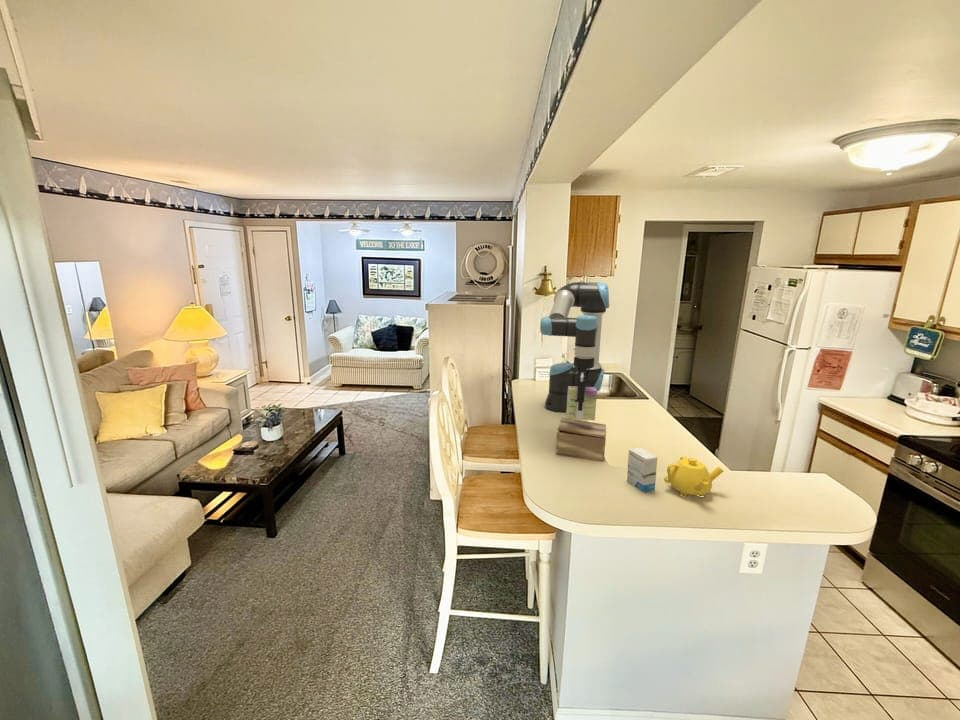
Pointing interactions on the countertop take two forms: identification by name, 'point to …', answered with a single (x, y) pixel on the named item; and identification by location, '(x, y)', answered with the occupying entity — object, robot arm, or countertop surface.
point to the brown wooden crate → (580, 445)
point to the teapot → (691, 477)
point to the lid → (582, 427)
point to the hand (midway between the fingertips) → (580, 415)
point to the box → (588, 403)
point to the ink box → (642, 469)
